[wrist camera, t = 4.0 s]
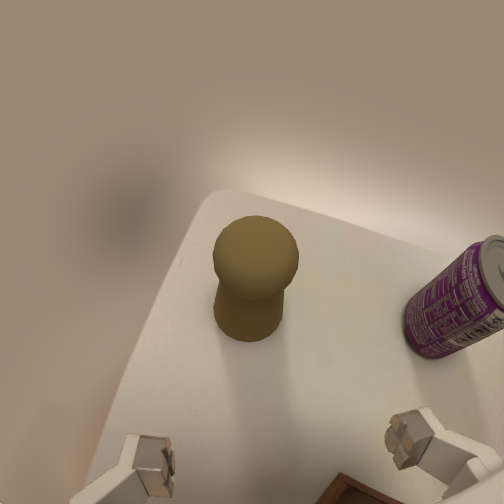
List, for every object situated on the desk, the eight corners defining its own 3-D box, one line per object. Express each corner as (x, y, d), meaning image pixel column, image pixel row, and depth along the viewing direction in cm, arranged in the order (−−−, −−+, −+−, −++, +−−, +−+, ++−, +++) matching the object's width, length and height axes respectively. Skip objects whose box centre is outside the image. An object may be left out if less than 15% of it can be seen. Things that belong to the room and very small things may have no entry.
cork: (212, 341, 26) (200, 291, 16) (214, 276, 29) (207, 199, 19) (284, 341, 26) (316, 292, 17) (281, 277, 29) (305, 201, 20)
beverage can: (465, 335, 27) (545, 288, 16) (424, 374, 25) (513, 337, 15) (432, 281, 30) (500, 217, 19) (388, 313, 28) (460, 250, 17)
